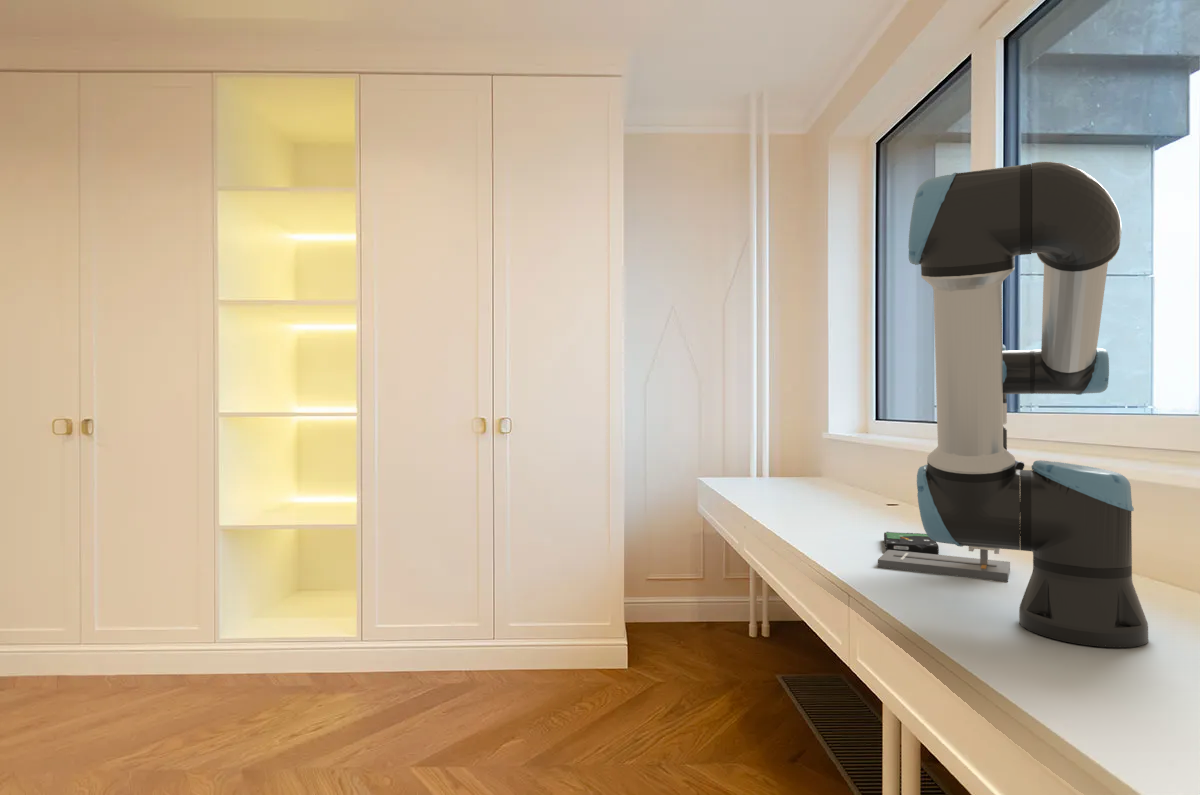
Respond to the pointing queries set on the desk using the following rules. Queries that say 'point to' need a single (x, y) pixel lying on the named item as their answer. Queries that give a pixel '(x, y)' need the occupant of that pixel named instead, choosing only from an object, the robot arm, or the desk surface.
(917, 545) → the disk drive
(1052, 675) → the desk surface
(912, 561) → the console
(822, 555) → the desk surface
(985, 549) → the fader
